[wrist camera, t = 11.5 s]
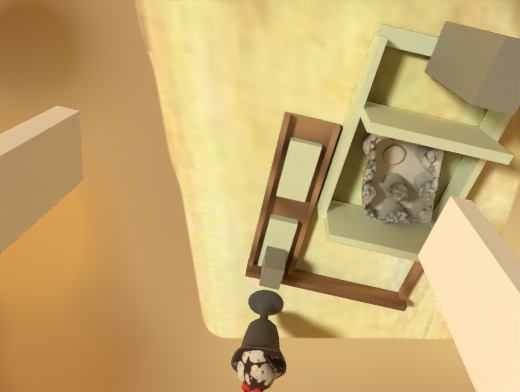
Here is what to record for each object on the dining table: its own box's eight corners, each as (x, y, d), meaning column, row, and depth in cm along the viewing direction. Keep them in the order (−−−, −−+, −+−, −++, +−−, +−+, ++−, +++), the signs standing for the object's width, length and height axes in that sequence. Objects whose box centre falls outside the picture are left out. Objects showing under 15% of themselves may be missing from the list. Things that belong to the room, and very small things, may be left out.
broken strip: (290, 136, 40) (289, 155, 36) (321, 143, 40) (323, 163, 36) (258, 260, 49) (254, 287, 45) (283, 266, 49) (281, 293, 45)
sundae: (242, 316, 55) (223, 419, 42) (243, 282, 51) (224, 383, 39) (286, 321, 54) (281, 427, 42) (290, 288, 51) (287, 391, 38)
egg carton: (361, 122, 39) (367, 136, 35) (437, 119, 38) (451, 133, 34) (356, 210, 44) (361, 229, 40) (422, 209, 43) (433, 229, 39)
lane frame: (284, 111, 39) (283, 118, 37) (478, 156, 39) (488, 166, 37) (247, 263, 50) (245, 275, 48) (400, 297, 50) (404, 311, 48)
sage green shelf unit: (383, 6, 33) (420, 16, 23) (532, 41, 33) (637, 67, 23) (317, 203, 44) (322, 271, 33) (430, 229, 44) (471, 304, 34)
